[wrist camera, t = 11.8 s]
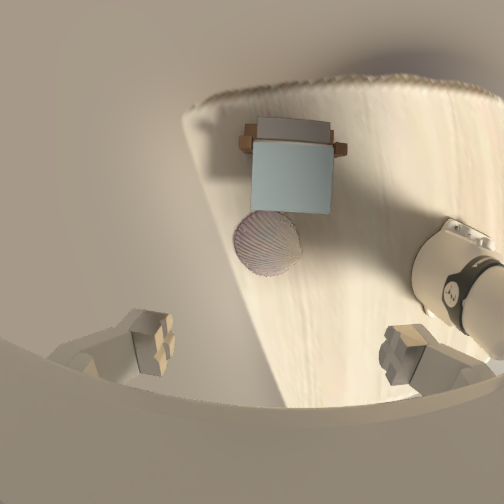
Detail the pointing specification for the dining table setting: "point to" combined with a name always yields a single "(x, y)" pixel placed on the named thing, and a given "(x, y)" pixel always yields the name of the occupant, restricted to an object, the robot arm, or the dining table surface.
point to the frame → (251, 135)
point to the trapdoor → (292, 166)
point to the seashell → (268, 243)
